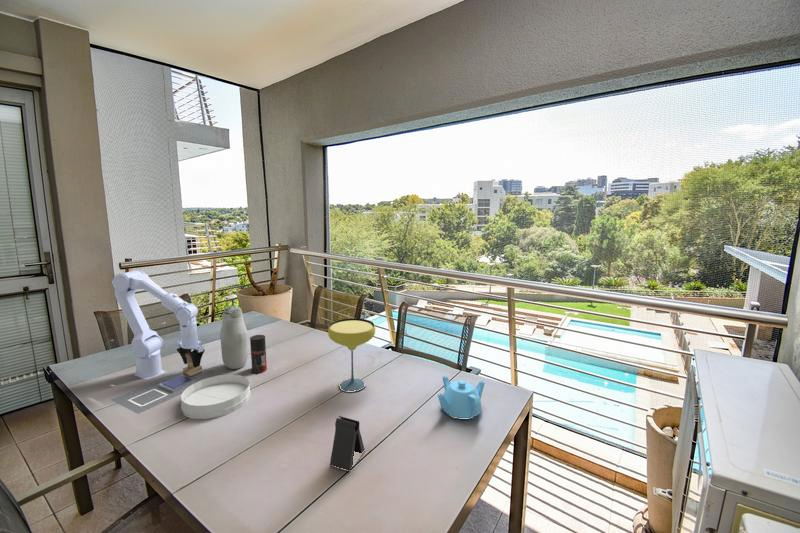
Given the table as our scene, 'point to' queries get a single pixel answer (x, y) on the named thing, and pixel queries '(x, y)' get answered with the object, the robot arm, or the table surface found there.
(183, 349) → the robot arm
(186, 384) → the ink pad
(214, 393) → the dish
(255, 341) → the deodorant
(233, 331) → the glass bottle
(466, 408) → the teapot
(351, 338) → the cocktail glass
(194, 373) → the stamp
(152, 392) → the desk mat
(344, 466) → the phone stand
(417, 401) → the table surface
